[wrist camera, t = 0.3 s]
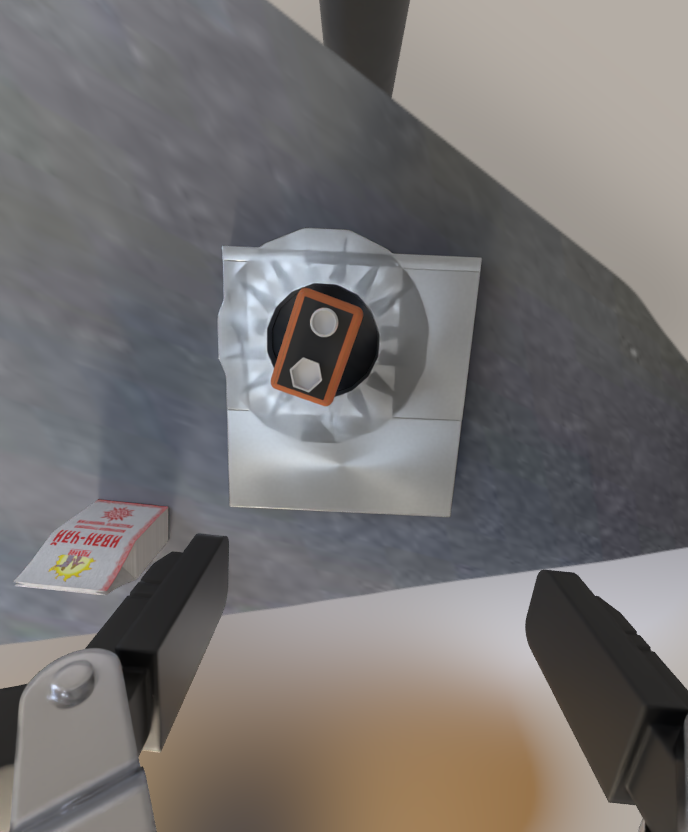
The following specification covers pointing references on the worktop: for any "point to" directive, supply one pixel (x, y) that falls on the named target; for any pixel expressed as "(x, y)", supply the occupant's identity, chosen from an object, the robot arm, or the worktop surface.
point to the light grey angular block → (99, 548)
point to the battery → (316, 346)
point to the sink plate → (368, 398)
